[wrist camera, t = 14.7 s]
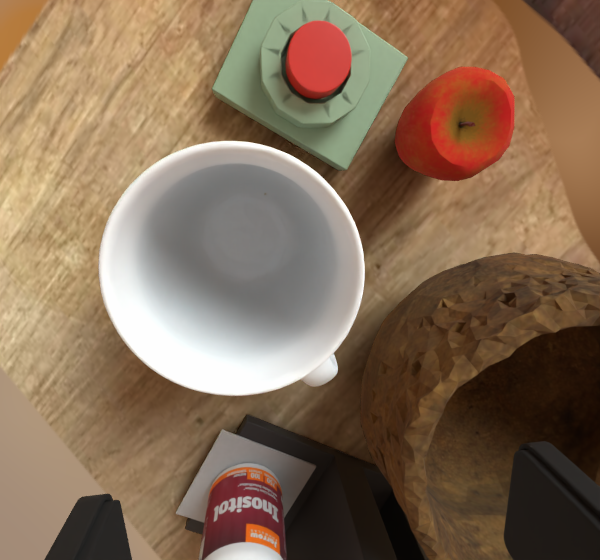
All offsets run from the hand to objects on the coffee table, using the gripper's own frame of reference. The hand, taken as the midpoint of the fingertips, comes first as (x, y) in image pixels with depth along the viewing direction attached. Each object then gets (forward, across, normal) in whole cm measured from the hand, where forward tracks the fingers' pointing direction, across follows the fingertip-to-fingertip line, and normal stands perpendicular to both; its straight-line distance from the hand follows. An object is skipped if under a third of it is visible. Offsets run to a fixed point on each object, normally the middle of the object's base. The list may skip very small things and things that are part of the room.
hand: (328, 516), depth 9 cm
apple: (+21, -11, -10) cm, 26 cm away
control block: (+21, -3, -14) cm, 26 cm away
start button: (+18, -3, -14) cm, 23 cm away
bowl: (+21, -14, +6) cm, 26 cm away
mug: (+21, +2, -3) cm, 22 cm away
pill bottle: (+20, +4, +18) cm, 27 cm away
